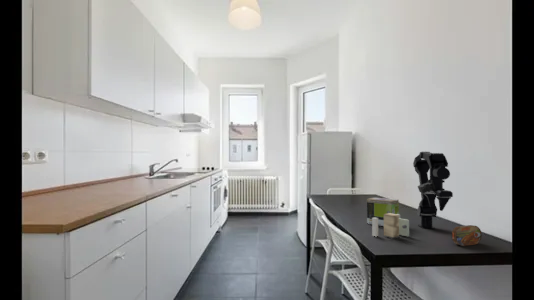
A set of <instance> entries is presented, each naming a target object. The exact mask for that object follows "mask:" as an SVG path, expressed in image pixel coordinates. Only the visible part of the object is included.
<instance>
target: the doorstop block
mask: <svg viewBox="0 0 534 300" xmlns="http://www.w3.org/2000/svg"><path fill="white" fill-rule="evenodd" d="M384 236H385V237H384ZM383 237H384V238H387V237H389V238H388V239H391V238H395V239H399V238H400V235H399V215H397V214H392V213H388V214H384V226H383Z"/></svg>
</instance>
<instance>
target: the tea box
mask: <svg viewBox="0 0 534 300" xmlns="http://www.w3.org/2000/svg"><path fill="white" fill-rule="evenodd" d="M399 203H400V202H399V199H396V198H395V199H394V198H383V197H369V198H367V199H366V223H368V224H369V225H372V218H374V217H375V218H378V227H379V226H380V227H384V214H388V213H392V214H400V205H399ZM368 224H367V225H368Z"/></svg>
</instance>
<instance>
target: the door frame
mask: <svg viewBox="0 0 534 300" xmlns="http://www.w3.org/2000/svg"><path fill="white" fill-rule="evenodd" d="M397 215H399V218H401V214H400V213H399V214H397ZM371 228H372V229H371V237H374V236H375V238H378V237H379V225H378V218H375V217H374V218H372V224H371ZM377 236H378V237H377Z"/></svg>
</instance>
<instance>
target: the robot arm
mask: <svg viewBox="0 0 534 300" xmlns="http://www.w3.org/2000/svg"><path fill="white" fill-rule="evenodd" d="M412 166H413V168H414V171H415V173H416V174H417V175H418V179H419V180H418V181H419V185H418V186H417V189H418V192H419V193H420V195H421V199H420V200H419V203H418V206H417V210H416V214H417V216H418V217H420V224H418V225H417V226H418V227H420V228H422V229H436V227H435V226H433V218H437V214H438V213H437V212H438V208H437V205H436V200H438V205H439V206H438V207H439V211H441V212H443V210H444V209H445V207H446V205H447V204H448V203H449V201H450V200H451V199H452V198H453V197H454V194H453V193H454V192H452V191H451V190H445V188H444V187H443V186H444V185H443V184H444V183H445V180H447V179H449V178H450V176H451V173H450V170H449V169H448V168H447V167H449V162H448V160H447V157H446V156H445V154H444V153H442V152H441V153H440V152H438V153H437V152H433V153H432V152H430V151H420V152H419V154H418V155H417V156H415V157H414V160H413V163H412ZM428 173H429V176H428Z"/></svg>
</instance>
